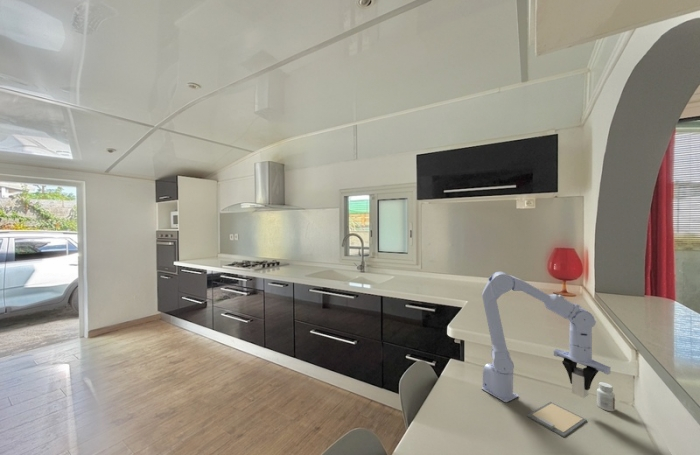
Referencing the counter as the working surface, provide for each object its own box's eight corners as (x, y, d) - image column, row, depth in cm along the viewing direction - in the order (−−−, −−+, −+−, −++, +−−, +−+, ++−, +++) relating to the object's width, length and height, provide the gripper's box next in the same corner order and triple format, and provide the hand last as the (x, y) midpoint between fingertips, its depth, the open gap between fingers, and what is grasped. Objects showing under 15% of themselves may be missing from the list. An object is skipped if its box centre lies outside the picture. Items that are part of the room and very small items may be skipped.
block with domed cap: (571, 392, 89) (571, 368, 89) (576, 390, 91) (576, 366, 91) (584, 398, 86) (584, 373, 86) (588, 395, 88) (588, 370, 88)
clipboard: (526, 416, 85) (526, 412, 85) (550, 402, 93) (550, 399, 93) (563, 437, 77) (563, 433, 77) (586, 420, 84) (586, 417, 84)
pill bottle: (618, 412, 88) (618, 389, 89) (602, 410, 89) (602, 387, 89) (608, 404, 93) (608, 382, 93) (593, 402, 93) (593, 380, 94)
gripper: (614, 351, 84) (614, 394, 84) (560, 335, 97) (560, 372, 97) (605, 355, 81) (605, 400, 81) (550, 338, 94) (550, 377, 93)
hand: (580, 386), depth 88 cm, fingers closed on block with domed cap, 3 cm apart
